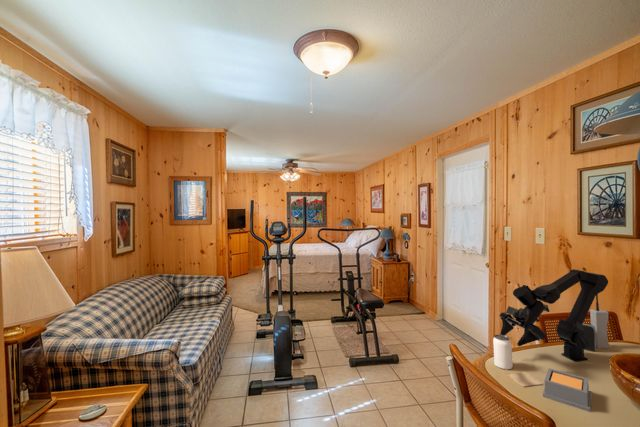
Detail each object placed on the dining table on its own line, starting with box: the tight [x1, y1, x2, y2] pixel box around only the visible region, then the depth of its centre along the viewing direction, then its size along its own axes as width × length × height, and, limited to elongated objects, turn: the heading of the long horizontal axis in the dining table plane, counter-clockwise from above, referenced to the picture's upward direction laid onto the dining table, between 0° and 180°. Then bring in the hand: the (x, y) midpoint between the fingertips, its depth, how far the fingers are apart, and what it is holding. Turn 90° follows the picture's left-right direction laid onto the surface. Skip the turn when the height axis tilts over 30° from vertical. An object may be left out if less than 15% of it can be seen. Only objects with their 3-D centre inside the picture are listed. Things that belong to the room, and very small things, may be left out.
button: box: [551, 372, 583, 390], centre depth 99 cm, size 8×8×2 cm
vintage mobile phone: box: [589, 293, 611, 349], centre depth 133 cm, size 4×5×25 cm
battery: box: [582, 322, 597, 352], centre depth 132 cm, size 7×4×11 cm, turn 38°
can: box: [492, 334, 513, 371], centre depth 120 cm, size 6×6×12 cm
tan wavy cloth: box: [506, 371, 544, 388], centre depth 109 cm, size 8×8×1 cm
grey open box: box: [542, 367, 592, 412], centre depth 99 cm, size 12×12×6 cm
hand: (509, 340), depth 120 cm, fingers open, 9 cm apart
